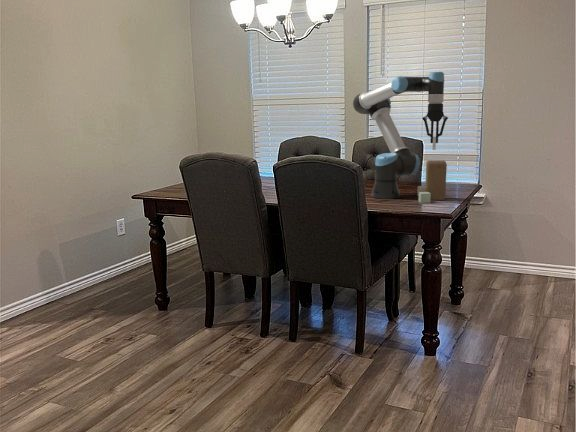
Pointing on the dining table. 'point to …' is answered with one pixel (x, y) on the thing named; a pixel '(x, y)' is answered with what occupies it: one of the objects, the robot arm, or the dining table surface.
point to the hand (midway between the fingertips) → (434, 149)
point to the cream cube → (420, 189)
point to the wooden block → (436, 179)
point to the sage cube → (424, 197)
